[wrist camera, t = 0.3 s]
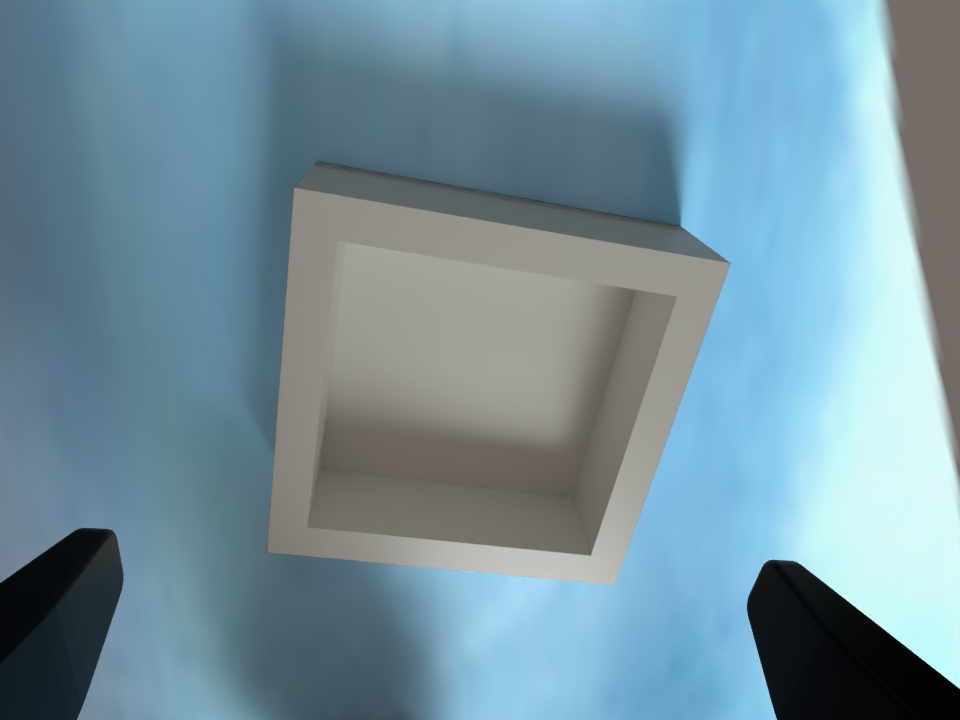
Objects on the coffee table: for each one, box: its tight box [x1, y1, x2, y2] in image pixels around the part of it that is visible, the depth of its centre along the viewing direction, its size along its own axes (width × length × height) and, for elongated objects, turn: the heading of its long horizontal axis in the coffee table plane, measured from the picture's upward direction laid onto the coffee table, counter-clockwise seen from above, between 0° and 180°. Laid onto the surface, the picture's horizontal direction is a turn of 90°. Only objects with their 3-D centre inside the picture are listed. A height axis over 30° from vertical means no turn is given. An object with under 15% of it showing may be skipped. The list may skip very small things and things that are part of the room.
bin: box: [267, 162, 731, 585], centre depth 22 cm, size 12×12×4 cm
